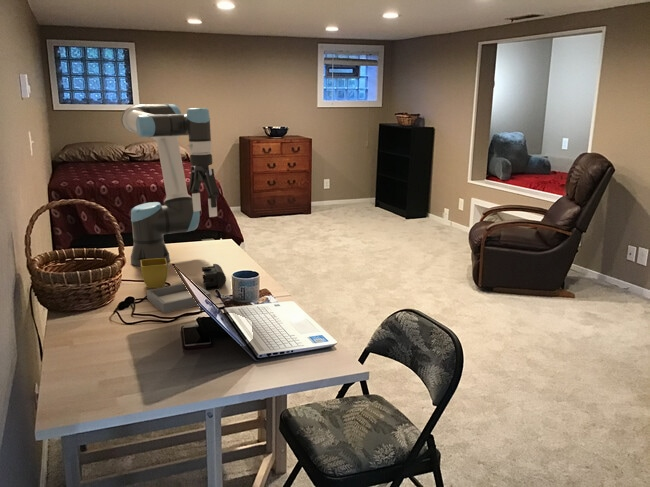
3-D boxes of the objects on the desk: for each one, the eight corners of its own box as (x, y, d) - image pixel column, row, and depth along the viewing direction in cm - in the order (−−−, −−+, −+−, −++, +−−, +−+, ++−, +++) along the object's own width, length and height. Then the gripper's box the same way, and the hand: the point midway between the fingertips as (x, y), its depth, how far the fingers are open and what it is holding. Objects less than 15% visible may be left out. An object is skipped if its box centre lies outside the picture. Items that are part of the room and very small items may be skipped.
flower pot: (167, 281, 207) (165, 257, 204) (169, 288, 199) (167, 264, 196) (142, 283, 204) (140, 259, 202) (143, 291, 196) (140, 266, 194)
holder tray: (147, 299, 188) (146, 290, 188) (192, 289, 197) (192, 281, 197) (163, 313, 177) (163, 303, 176) (211, 302, 186) (210, 293, 185)
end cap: (226, 289, 198) (225, 270, 196) (206, 291, 196) (205, 272, 194) (222, 280, 207) (221, 262, 206) (202, 282, 205) (201, 264, 203)
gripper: (176, 152, 205) (181, 210, 210) (206, 156, 185) (210, 220, 190) (196, 150, 209) (200, 207, 214) (226, 155, 190) (230, 217, 195)
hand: (205, 213), depth 202 cm, fingers open, 13 cm apart
